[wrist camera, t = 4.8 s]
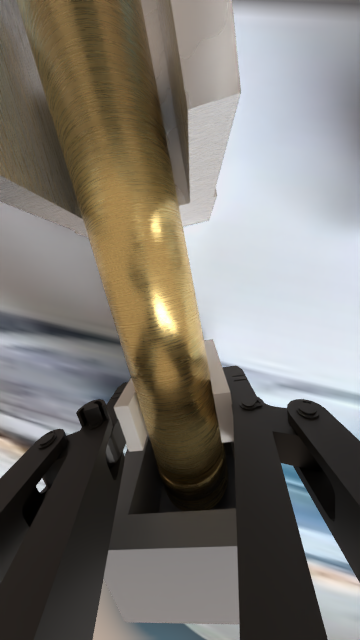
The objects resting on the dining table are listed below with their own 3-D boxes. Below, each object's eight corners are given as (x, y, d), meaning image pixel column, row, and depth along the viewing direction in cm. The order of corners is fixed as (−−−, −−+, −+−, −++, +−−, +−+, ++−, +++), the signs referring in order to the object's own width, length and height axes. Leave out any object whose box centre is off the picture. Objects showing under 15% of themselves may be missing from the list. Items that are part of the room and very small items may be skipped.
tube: (64, 70, 8) (-61, -133, 4) (149, 38, 8) (101, -227, 4) (167, 443, 13) (157, 517, 9) (222, 438, 13) (236, 512, 9)
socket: (148, 387, 17) (84, 551, 7) (232, 375, 16) (302, 544, 6) (160, 429, 18) (120, 622, 8) (239, 420, 17) (307, 625, 7)
